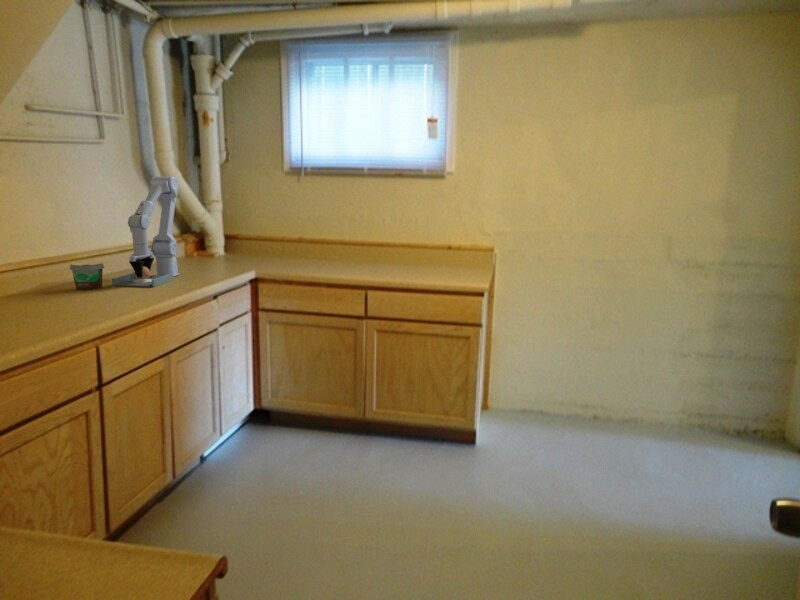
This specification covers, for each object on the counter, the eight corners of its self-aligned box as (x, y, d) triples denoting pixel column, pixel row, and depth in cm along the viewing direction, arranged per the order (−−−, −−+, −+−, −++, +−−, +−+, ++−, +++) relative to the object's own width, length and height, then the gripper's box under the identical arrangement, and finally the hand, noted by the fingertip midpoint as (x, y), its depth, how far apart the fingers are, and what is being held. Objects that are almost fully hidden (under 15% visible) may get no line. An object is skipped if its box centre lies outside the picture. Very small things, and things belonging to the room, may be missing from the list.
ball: (142, 277, 246) (141, 265, 245) (153, 278, 245) (152, 265, 244) (133, 280, 241) (132, 267, 240) (144, 280, 240) (143, 267, 239)
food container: (68, 291, 225) (65, 266, 223) (72, 288, 231) (69, 263, 228) (102, 290, 228) (100, 265, 226) (106, 287, 234) (103, 262, 232)
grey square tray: (133, 278, 252) (133, 272, 251) (173, 280, 250) (172, 273, 250) (112, 285, 237) (111, 278, 236) (154, 287, 235) (153, 279, 234)
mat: (139, 278, 253) (139, 276, 253) (170, 279, 251) (169, 277, 251) (115, 286, 235) (115, 284, 235) (148, 287, 234) (148, 285, 234)
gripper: (140, 241, 247) (143, 272, 250) (121, 245, 233) (124, 278, 236) (156, 241, 247) (158, 273, 250) (138, 246, 233) (140, 279, 235)
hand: (143, 276), depth 243 cm, fingers closed on ball, 5 cm apart
